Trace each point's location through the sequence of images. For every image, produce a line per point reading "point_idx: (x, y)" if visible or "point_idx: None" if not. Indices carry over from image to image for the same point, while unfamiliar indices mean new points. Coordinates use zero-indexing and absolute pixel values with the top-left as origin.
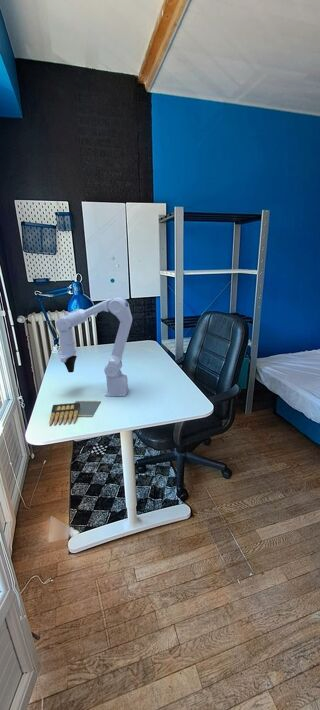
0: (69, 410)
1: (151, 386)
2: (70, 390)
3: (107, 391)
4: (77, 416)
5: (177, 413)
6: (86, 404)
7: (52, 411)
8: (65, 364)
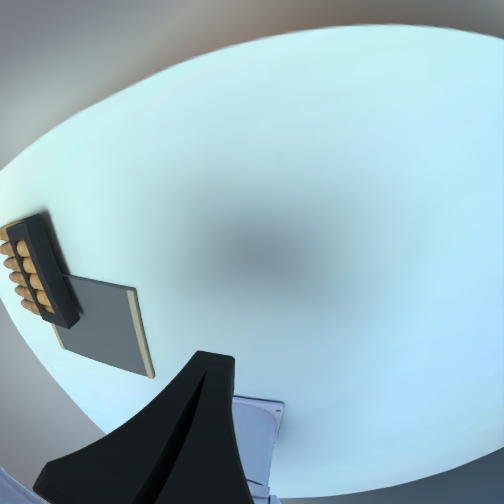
0: (30, 293)
1: (289, 470)
2: (293, 220)
3: (244, 402)
4: None
5: None
6: (115, 334)
7: (7, 232)
8: (120, 431)
